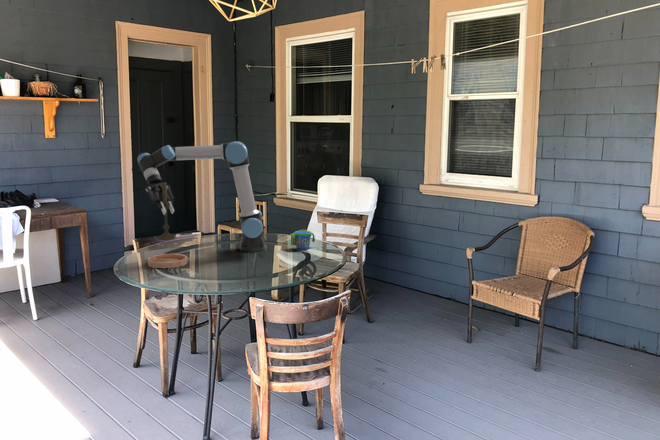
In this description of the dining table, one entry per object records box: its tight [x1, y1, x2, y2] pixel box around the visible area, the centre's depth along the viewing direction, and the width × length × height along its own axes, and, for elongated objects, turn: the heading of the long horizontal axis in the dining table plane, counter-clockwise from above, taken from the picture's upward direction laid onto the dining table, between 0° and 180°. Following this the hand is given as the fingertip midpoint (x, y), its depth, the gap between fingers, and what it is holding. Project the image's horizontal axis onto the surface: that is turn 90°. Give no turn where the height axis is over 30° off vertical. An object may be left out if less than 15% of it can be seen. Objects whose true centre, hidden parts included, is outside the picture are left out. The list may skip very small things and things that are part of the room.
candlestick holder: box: [157, 181, 176, 241], centre depth 274 cm, size 9×9×30 cm
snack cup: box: [290, 230, 316, 250], centre depth 316 cm, size 16×10×10 cm
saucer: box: [147, 253, 188, 270], centre depth 279 cm, size 20×20×3 cm
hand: (169, 212), depth 271 cm, fingers closed on candlestick holder, 4 cm apart
